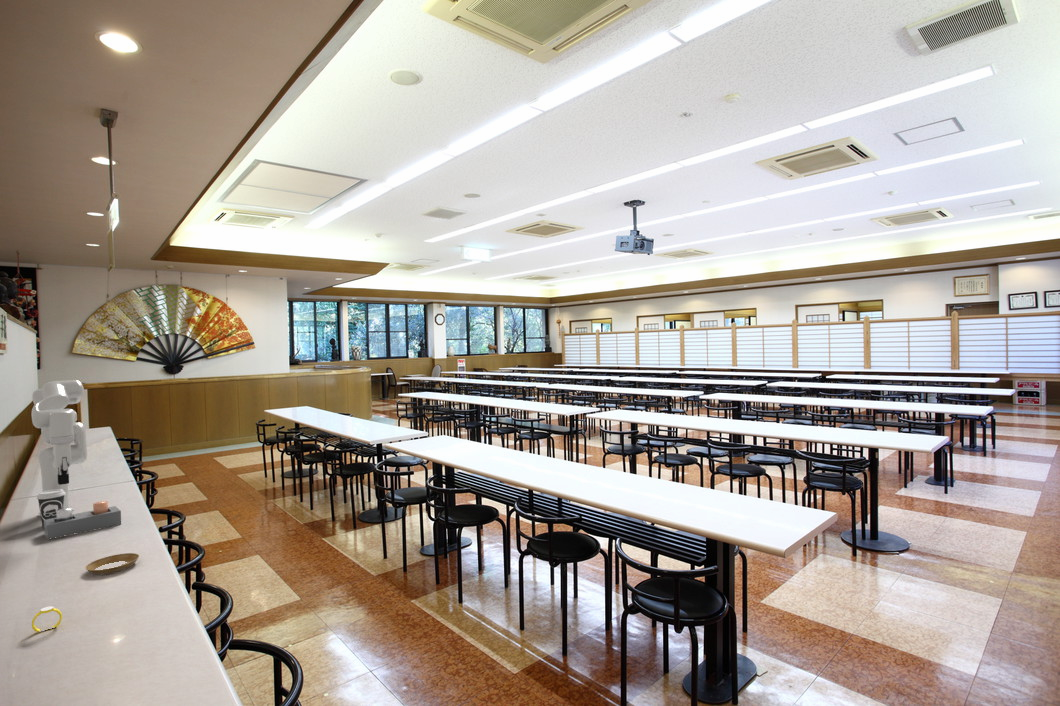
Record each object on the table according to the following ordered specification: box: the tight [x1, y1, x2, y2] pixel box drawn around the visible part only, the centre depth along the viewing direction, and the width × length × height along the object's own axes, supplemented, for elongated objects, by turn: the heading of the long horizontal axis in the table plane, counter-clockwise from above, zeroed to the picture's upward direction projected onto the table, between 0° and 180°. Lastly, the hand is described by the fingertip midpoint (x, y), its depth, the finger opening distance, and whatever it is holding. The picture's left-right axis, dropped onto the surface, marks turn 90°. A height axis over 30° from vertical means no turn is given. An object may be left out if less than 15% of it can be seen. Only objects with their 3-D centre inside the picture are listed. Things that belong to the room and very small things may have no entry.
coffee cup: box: [36, 489, 66, 528], centre depth 232 cm, size 10×10×15 cm
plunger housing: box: [43, 505, 122, 540], centre depth 226 cm, size 11×24×6 cm, turn 139°
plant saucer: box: [85, 552, 140, 576], centre depth 184 cm, size 15×15×3 cm
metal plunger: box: [56, 508, 73, 522], centre depth 221 cm, size 5×5×6 cm
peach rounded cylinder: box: [92, 500, 109, 515], centre depth 230 cm, size 5×5×6 cm
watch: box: [31, 605, 63, 633], centre depth 143 cm, size 6×3×6 cm, turn 130°
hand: (63, 483), depth 221 cm, fingers closed
